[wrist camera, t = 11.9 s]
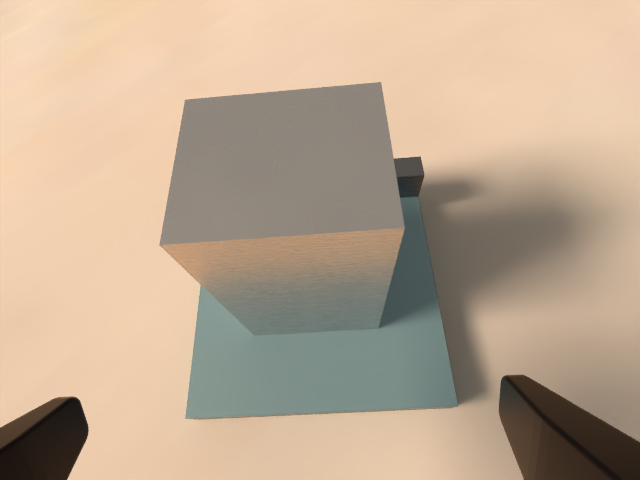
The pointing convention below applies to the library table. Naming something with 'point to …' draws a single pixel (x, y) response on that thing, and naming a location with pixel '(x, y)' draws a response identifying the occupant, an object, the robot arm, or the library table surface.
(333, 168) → the aluminium block
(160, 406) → the library table surface
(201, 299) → the lipped steel plate
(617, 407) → the library table surface
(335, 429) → the library table surface
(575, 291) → the library table surface
